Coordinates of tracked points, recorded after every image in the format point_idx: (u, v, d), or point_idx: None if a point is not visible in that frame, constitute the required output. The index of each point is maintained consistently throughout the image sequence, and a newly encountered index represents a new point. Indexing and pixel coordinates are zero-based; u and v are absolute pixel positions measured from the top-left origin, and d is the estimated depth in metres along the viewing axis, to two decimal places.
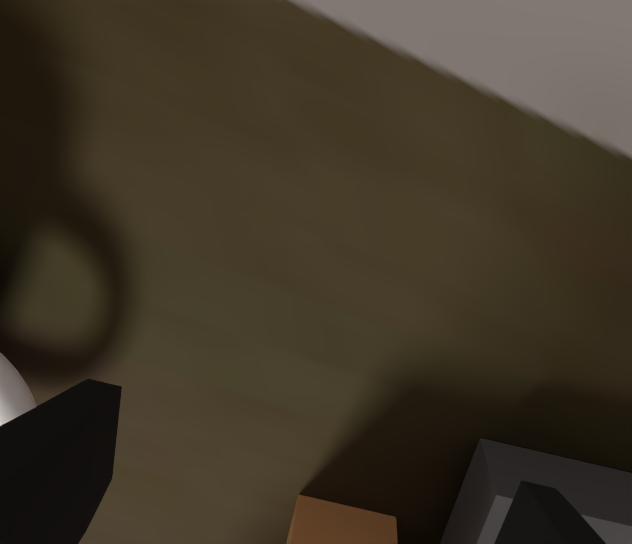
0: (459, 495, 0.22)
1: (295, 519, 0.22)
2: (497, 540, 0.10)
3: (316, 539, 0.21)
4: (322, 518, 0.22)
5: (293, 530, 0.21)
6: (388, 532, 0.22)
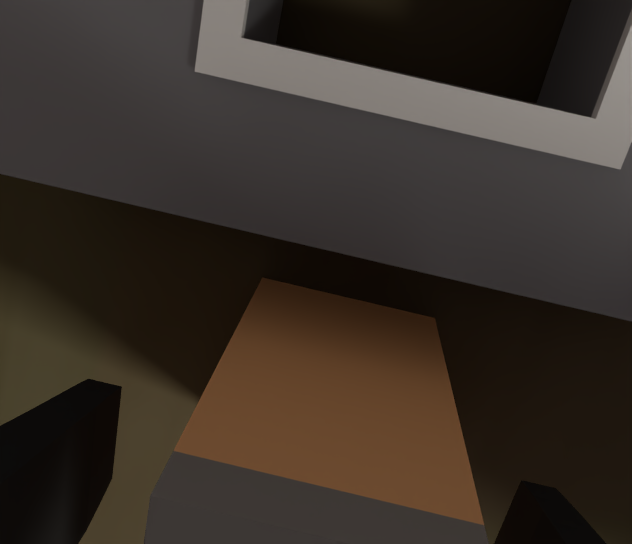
0: None
1: None
2: (497, 540, 0.10)
3: None
4: None
5: None
6: None
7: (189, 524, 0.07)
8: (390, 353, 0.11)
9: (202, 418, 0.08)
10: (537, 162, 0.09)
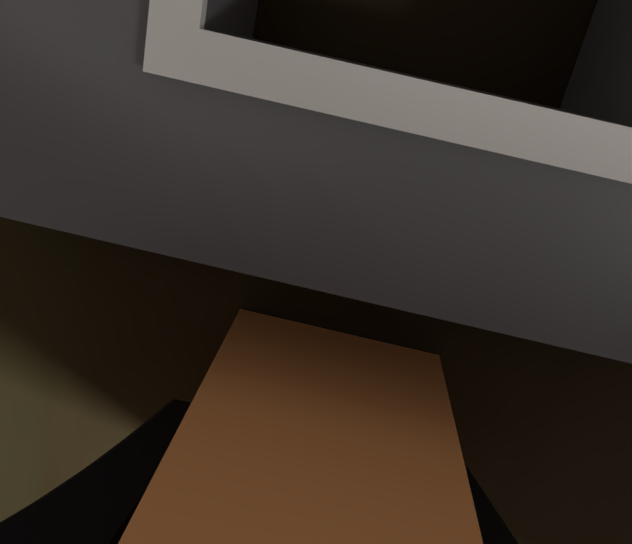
0: None
1: None
2: None
3: None
4: None
5: None
6: None
7: None
8: (388, 406, 0.09)
9: (148, 515, 0.06)
10: (570, 184, 0.07)
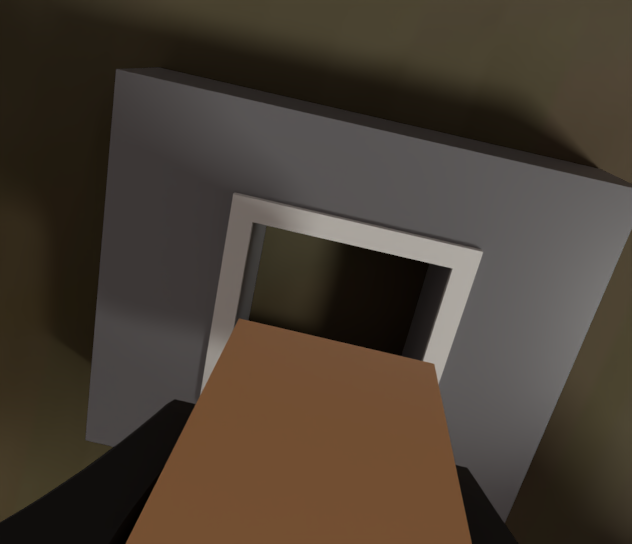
0: None
1: None
2: None
3: None
4: None
5: None
6: None
7: None
8: (383, 416, 0.09)
9: (149, 526, 0.06)
10: None
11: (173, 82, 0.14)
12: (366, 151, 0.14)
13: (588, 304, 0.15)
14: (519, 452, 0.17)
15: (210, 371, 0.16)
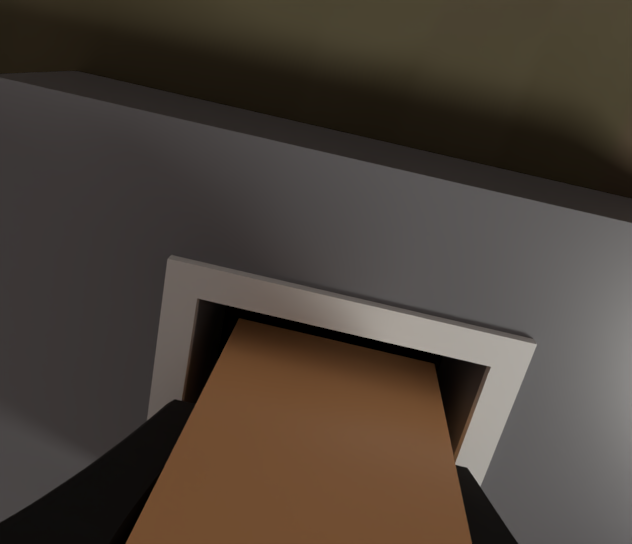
0: None
1: None
2: None
3: None
4: None
5: None
6: None
7: None
8: (383, 416, 0.09)
9: (149, 526, 0.06)
10: None
11: (73, 94, 0.09)
12: (364, 198, 0.09)
13: None
14: None
15: None
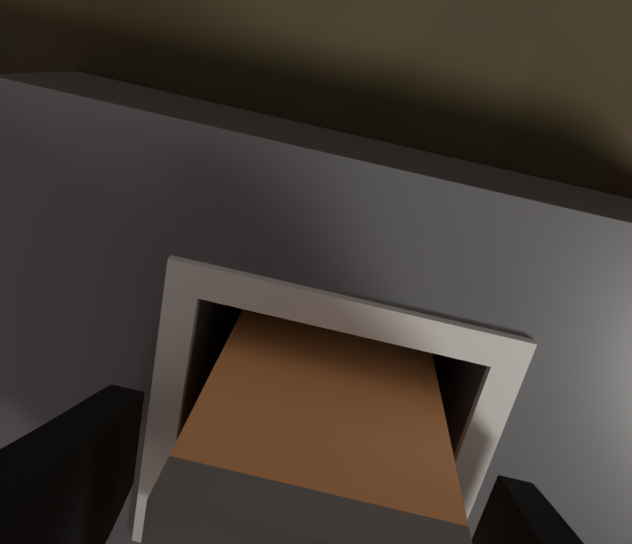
0: None
1: None
2: (475, 535, 0.10)
3: None
4: None
5: None
6: None
7: (184, 527, 0.07)
8: (381, 358, 0.11)
9: (197, 423, 0.08)
10: None
11: (73, 94, 0.09)
12: (364, 198, 0.09)
13: None
14: None
15: (146, 497, 0.12)
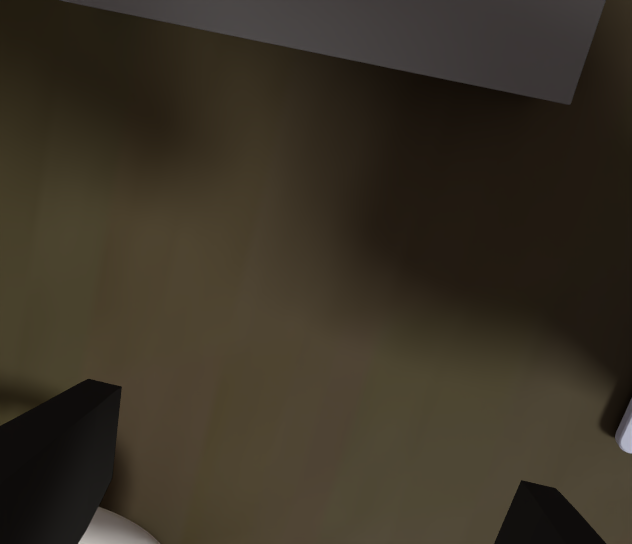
0: None
1: None
2: (497, 540, 0.10)
3: None
4: None
5: None
6: None
7: None
8: None
9: None
10: None
11: None
12: None
13: None
14: None
15: None
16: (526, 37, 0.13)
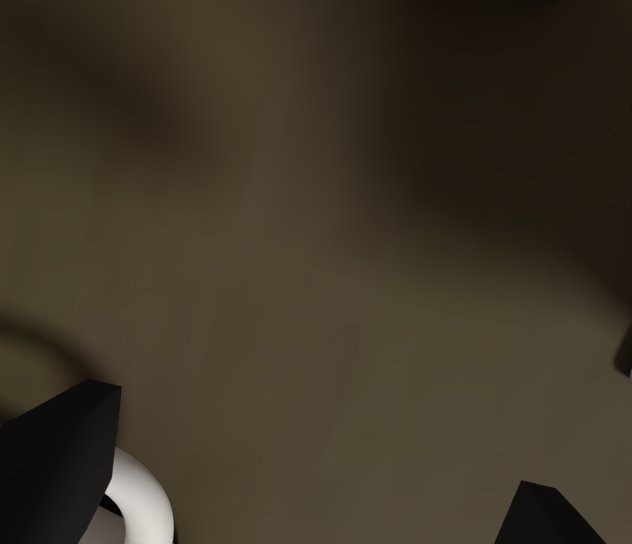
0: None
1: None
2: (497, 540, 0.10)
3: None
4: None
5: None
6: None
7: None
8: None
9: None
10: None
11: None
12: None
13: None
14: None
15: None
16: None
